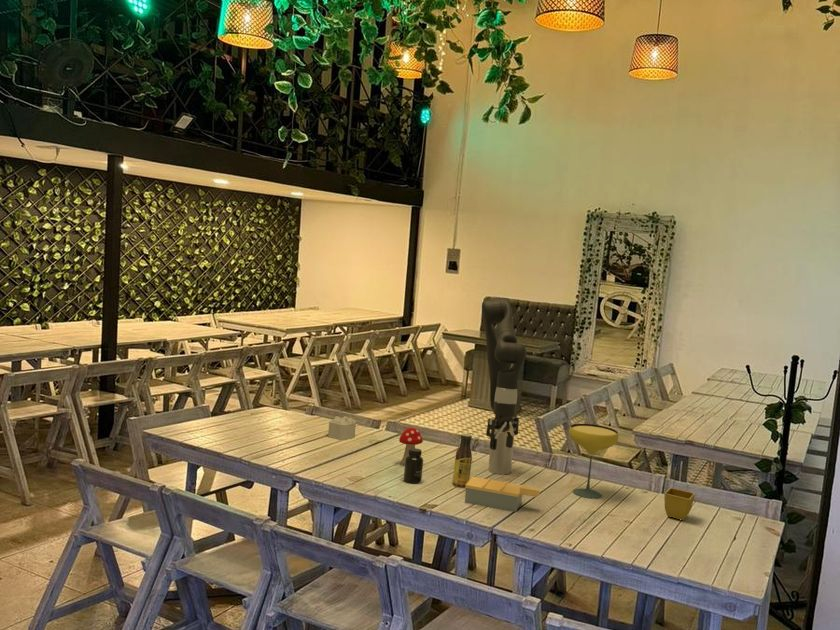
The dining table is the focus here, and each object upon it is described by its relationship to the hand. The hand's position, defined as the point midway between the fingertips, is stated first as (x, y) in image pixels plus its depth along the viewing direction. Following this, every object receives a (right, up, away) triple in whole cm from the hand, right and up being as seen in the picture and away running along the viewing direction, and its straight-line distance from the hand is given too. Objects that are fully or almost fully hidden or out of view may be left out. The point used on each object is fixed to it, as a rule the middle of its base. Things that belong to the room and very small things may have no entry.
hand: (500, 448), depth 248 cm
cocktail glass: (+36, -23, +29) cm, 52 cm away
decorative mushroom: (-32, -15, +48) cm, 60 cm away
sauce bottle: (-12, -19, +24) cm, 33 cm away
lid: (+1, -15, +6) cm, 17 cm away
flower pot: (+63, -27, +10) cm, 70 cm away
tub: (-2, -21, +7) cm, 22 cm away
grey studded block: (-63, -10, +83) cm, 105 cm away
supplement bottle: (-30, -17, +26) cm, 44 cm away
